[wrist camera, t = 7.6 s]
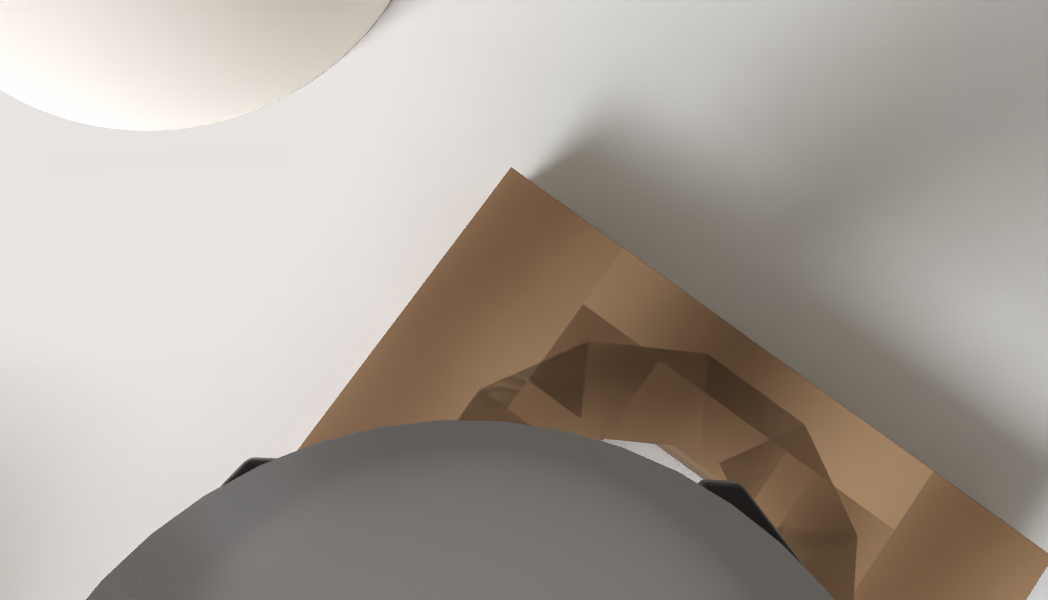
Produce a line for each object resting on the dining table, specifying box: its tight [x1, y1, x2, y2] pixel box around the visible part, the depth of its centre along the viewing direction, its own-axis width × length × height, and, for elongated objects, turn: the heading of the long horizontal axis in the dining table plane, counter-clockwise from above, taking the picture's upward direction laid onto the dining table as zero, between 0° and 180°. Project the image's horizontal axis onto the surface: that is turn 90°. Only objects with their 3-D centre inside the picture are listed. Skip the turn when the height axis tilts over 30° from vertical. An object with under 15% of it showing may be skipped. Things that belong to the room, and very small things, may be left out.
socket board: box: [297, 167, 1048, 600], centre depth 22 cm, size 14×11×2 cm
